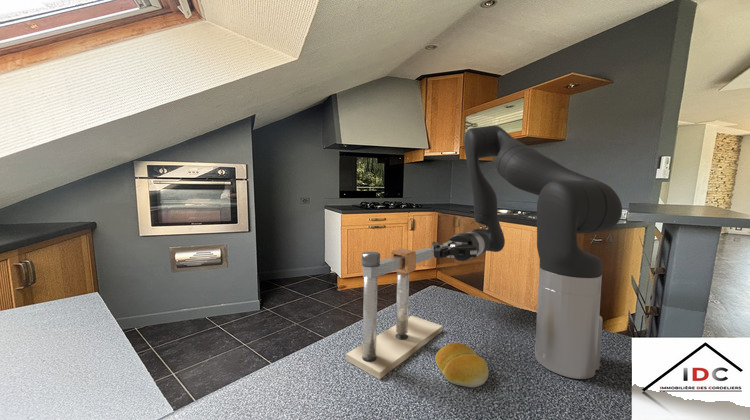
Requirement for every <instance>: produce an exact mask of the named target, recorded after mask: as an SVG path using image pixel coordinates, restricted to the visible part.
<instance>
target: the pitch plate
mask: <svg viewBox="0 0 750 420" xmlns="http://www.w3.org/2000/svg"><path fill="white" fill-rule="evenodd" d="M442 332H443V325H441V324H438V323H435V322H432V321H429V320H426V319H424V318H421V317H418V316H416V315H410V316H408V333H406V334H404V336H400V335H399V334H398V333H397V332H396V324H394V325H393V326H391V327H389V328H388V329H386V330H385V331H383V332H381V333H379V334H377V339H376V359H375V360H373V361H366V360H364V359H363V343H362V344H360V345H359V346H357V347H355V348H354V349H351V350H350V351H348V352H347V353H345V361H346V362H348V363H350V364H351V365H353V366H355V367H357V368H359V369H361V370H362V371H364V372H365V373H367V374H369V375H371V376H373V377H374V378H377V379H378V380H381V379H382V378H383V377H385V376H386V375H387V374H388V373H390V372H392V371H393V370H394V369H395V368H396V367H398V366H399V365H400V364H402V362H403V363H404V361H406V360H407V359H408V358H409V357H410V356H412V355H413V354H415V353H416V352H417V351H418V350H420V349H421V348H422V347H424V346H425V345H426V344H427V343H429V342H430V341H431V340H433V339H434V338H435V337H437V336H438V335H440V333H442Z"/></svg>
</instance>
